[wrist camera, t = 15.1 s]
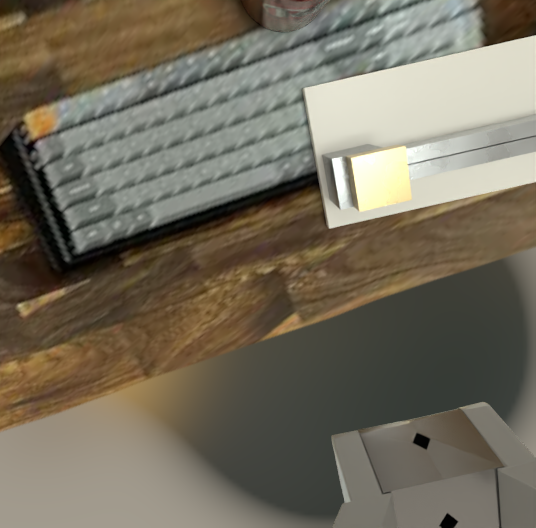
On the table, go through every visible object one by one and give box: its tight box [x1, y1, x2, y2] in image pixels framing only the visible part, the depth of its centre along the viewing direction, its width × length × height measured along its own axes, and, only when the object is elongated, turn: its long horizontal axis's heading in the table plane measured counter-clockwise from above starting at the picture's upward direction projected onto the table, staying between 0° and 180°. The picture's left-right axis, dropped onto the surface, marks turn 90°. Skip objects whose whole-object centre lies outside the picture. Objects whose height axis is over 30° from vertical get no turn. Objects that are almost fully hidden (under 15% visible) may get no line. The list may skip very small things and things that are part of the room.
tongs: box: [322, 135, 536, 210], centre depth 38 cm, size 30×4×4 cm, turn 102°
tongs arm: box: [403, 115, 536, 164], centre depth 38 cm, size 25×2×3 cm, turn 102°
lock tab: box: [346, 145, 412, 212], centre depth 35 cm, size 4×4×2 cm
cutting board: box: [302, 35, 536, 228], centre depth 40 cm, size 32×12×1 cm, turn 102°
